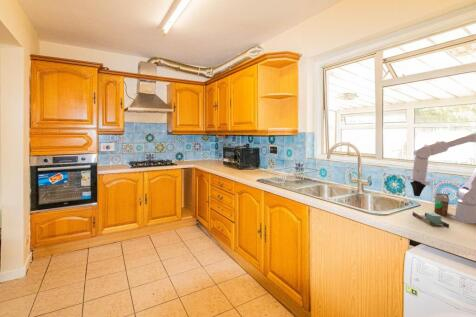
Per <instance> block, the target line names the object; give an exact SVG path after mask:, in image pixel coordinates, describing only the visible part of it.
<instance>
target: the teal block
mask: <svg viewBox="0 0 476 317" xmlns="http://www.w3.org/2000/svg"><path fill="white" fill-rule="evenodd" d="M425 213H426V219H428V220H430V221H431V222H433V223H435V224H438V225H440V224H441V221H442V217H443V216H442V215H439V214H436V213H435V212H434V213H433V212H425Z"/></svg>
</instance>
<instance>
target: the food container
mask: <svg viewBox="0 0 476 317" xmlns="http://www.w3.org/2000/svg"><path fill="white" fill-rule="evenodd" d="M433 199H434V210H433V211H434V213H436V214H438V215H440V216H442V217H443V216H444V217H447V216H448V212H449V211H448V210H449V205H450V204H449V203H450V196H449V193H439V192H436V193H435V194H434V195H433Z"/></svg>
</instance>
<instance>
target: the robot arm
mask: <svg viewBox="0 0 476 317" xmlns="http://www.w3.org/2000/svg"><path fill="white" fill-rule="evenodd" d="M466 143H476V131H475V132H471V133H467V134H464V135H461V136H459V137H458V136H457V137H456V138H453V139H450V140H447V141H444V140H439V139H437V140H435V141H434V142H432V143H429V144H428V143H427V144H426V143H425V144H424V145H423V146H418V147H416V148H415V149H414V151H413V155H414V161H413V166H412V167H413V168H412V175H408V176H407V177H408V178H407V180H410V183H409V184H410V186H411V187H412V192H413V196H414V197H421V194H422V192H423V190H424V189H425V188H426V186H431V181H430V180H428V179H427V173H428V164H429V158H430V157H431V156H435V155H438V154H441V153H445V152H448V149H450V148H452V147H456V146H457V147H458V146H460V145H464V144H466ZM456 197H457V198H458V199H457V201H456V208H455V213H454V216H451V215H450V216H449V217H450V218H451V219H453V220H456V221H458V222H460V223H463V224H476V168H475V169H474V171H473V172H472V174H471V175H470V177H469V179H468V180H467V182H465V183H464V184H463V185H462V186H461V187H460V188H459V189H457V190H456Z"/></svg>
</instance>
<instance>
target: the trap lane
mask: <svg viewBox="0 0 476 317" xmlns="http://www.w3.org/2000/svg"><path fill="white" fill-rule="evenodd" d="M426 213H427V212H424V215H420V214H418V213H416V212H414V211H412V214H411V215H412V216H414V217H416V218H417V219H419V220H421V221H423V222H424V223H425V224H428V225H430V226H432V227H434V228H445V229H446V228H447V229H448V228H450V224H449V223H447V222H446V221H443V220H441V224H440V225H438V224H435V223H433V222H431V221H430V220H428V219H426Z"/></svg>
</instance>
